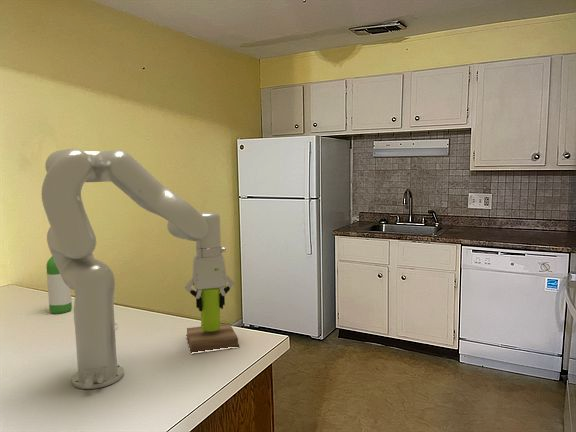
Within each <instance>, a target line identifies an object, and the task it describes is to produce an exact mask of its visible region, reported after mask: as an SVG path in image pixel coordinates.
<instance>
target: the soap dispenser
mask: <svg viewBox="0 0 576 432" xmlns="http://www.w3.org/2000/svg"><path fill="white" fill-rule="evenodd" d="M214 270H215V271H218V270H219V269H214ZM200 296H201V299H202V311H200V325H201V326H200V327H201V329H202V330H203V331H216V330H219V329H220V324H221V308H220V290H219V288H215V289H204V290H202V292H201V295H200Z"/></svg>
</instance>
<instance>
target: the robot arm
mask: <svg viewBox="0 0 576 432" xmlns="http://www.w3.org/2000/svg"><path fill="white" fill-rule="evenodd" d="M44 167H45V171H46V174H45V176H44V179H43V182H42V186H41V202H42V206H43V209H44V212H45V215H46V217H47V221H48V224H49V228H48V229H47V230H48V231H47V233H46V243H47V246H48V249H49V251H50V252H49V253H50V254H51V257H52V256H53V259H54V261H55V264H56V266H57V268H58V271H59V273H60V275H61V277H62V279H63V281H64V283H65V284H66V285H67V286H68V287H69V288H71V290H73V291H74V302H73V319H74V320H73V321H74V331H75V333H74V334H75V347H76V348H75V349H76V360H77V362H76V363H77V372H76V373H75V374H74V375H72V377H71V383H72V385H73V387H76V388H77V389H81V390H83V389H84V390H92V389H94V390H96V389H100V388H103V387H106V386H107V387H108V386H110V385H112V384H114V383H116V382H118V381H120V380H121V379H122V377H124V373H125V371H124V370H125V369H124V367H123V366H121V365H120V364H118V358H117V356H118V355H117V341H116V340H117V339H116V331H115V309H114V308H115V307H114V306H115V305H114V304H115V303H114V299H115V290H116V279H115V275H114V272H113V270H112V269H111V267H110V266H109V265H108V264H106V263H104V262H102V261H101V260H98V259H96V258H95V256H94V254H93V252H94V251H95V249H96V246H97V238H96V237H97V236H96V234H95V231H94V230H93V227H92V225H91V222H90V219H89V217H88V214H87V212H86V209H85V207H84V204H83V203H84V202H83V198H82V189H83V186H84V184H85V183H103V182H106V183H107V182H111V183H112V184H113V185H114V186H116V187H117V188H118V189H119V190H120V191H122V192H123V193H124V194H125V195H127V196H128V197H129V198H130V199H131V200H132V201H133V202H134V203H135V204H137V205H138V207H141V208H142V209H143V210H146V211H147V212H149V213H152V214H155V215H157V216H159V217H161V218H164V220H166V221H167V225H166V227H167V231H168V232H169V234H171V235H172V236H173V237H175V238H177V239H182V240H187V241H191V242H195V247H196V248H195V250H196V252H195V253H196V254H195V256H193V261H192V277H191V278H190V280H189V281H188V282H187V283H186V285H184V290H186V291H187V292H188V293H190V294H191V295H192V296H193V297H194V298H195V302H196V304H195V307H196V308H197V309H198V311H199V312H201V311H202V299H201V292H202V290H204V289H215V288H219V290H220V310H223V309H224V306H225V304H226V302H225V297H226V294H227V293H229V291H230V290H231V289H232V287H233V286H234V285H235V281H234V280H232V279H231V278H230V277H229V275H227V270H226V269H227V268H226V263H225V262H226V261H225V258H224V254H223V253H225V252H226V251H227V250H226V247H225V246H224V247H223V246H222V242H221V238H222V237H221V218H220V217H221V216H220V214H219V213H218V212H215V211H204V212H199V211H198V210H197V208H196V207H195V206H193V205H192V204H190V203H189V202H188V201H187V200H185V199H184V198H183V197H181V196H180V195H178V194H176V193H175V192H174V191H172V189H170V188H168V187H166V186H165V185H163V184H162V183H161V182H160V181H159V180H158V179H157V178H156V177H155V176H153V175H152V173H150V172H149V171H148V170H147V169H146V168H145V167H144V166H143V165H142V164H141V163H139V161H138V160H136V159H135V157H134V156H132V155H131V154H129V153H128V152H126V151H124V150H121V149H113V150H99V151H98V150H96V151H95V150H93V151H90V150H86V151H85V150H81V149H78V148H66V149H61V150H60V149H59V150H55V151H54V152H52V153H50V155H48V157H47V158H46V160H45V166H44ZM214 269H219V270H218V271H215V270H214ZM227 283H228V284H227ZM192 287H194V288H192ZM194 289H195V290H194Z"/></svg>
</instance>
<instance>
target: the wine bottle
mask: <svg viewBox="0 0 576 432" xmlns="http://www.w3.org/2000/svg"><path fill="white" fill-rule="evenodd" d="M45 266H46V279H47V281H46V282H47V294H48V304H49V305H48V306H49V311H50V314H51V313H52V314H56V315H59V314H65V313H67V312H70V311H71V310H72V308H73V304H72V291H71V290H72V289H71V288H69V287H68V286H67V285H66V284H65V283H64V281H63V279H62V277H61V275H60V273H59V271H58V268H57V266H56V264H55V261H54V259H53V256H52V255H51V257H50V258H49V259H48V260H47V262H46V265H45Z"/></svg>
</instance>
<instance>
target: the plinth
mask: <svg viewBox="0 0 576 432" xmlns="http://www.w3.org/2000/svg"><path fill="white" fill-rule="evenodd" d="M185 335H186V336H187V338H186V341H187V340H188V342H187V345H188V344H189V346H188V349H189V348H190V349H189V352H190V351H191V353H192V352H198V351H205V350H213V349H220V348H228V347H239V348H240V344H239V337H238V336H237V334H236V332H235V330H234V329H233V327H232V325H231V323H230V322H227V323H226V322H225V323H220V329H219V330H216V331H203V330H202V329H201V326H193V327H187V328H186V334H185ZM191 353H190V354H191Z"/></svg>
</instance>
